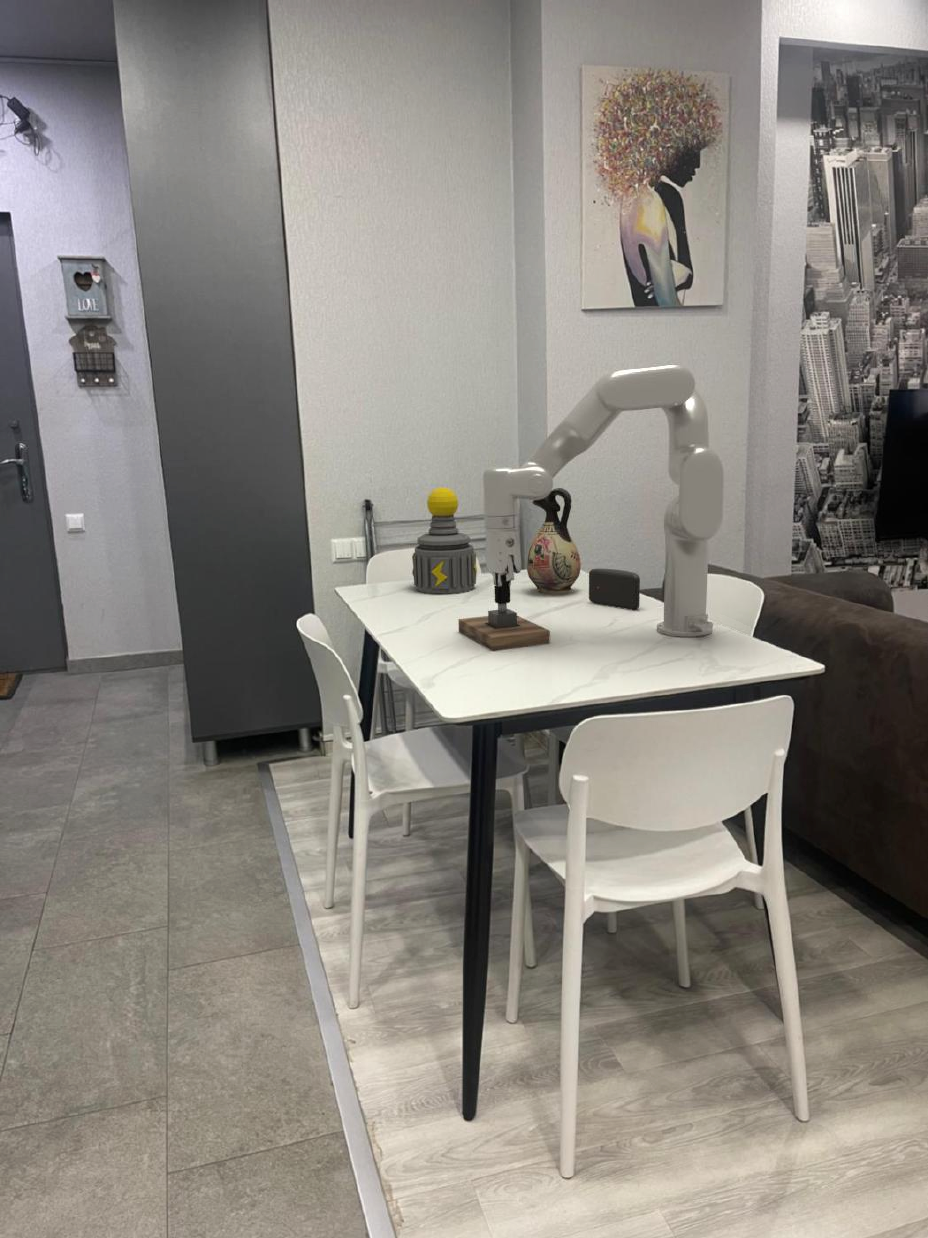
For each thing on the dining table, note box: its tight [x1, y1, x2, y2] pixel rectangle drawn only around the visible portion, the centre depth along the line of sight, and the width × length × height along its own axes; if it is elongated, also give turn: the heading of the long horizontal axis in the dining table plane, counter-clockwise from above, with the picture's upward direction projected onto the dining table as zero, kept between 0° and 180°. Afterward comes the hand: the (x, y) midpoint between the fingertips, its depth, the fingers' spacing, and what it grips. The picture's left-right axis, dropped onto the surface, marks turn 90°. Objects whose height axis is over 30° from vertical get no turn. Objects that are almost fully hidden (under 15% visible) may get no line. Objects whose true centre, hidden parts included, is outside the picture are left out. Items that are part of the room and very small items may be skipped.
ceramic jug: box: [526, 487, 584, 596], centre depth 252 cm, size 17×15×30 cm
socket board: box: [458, 615, 551, 652], centre depth 206 cm, size 20×14×3 cm
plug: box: [487, 603, 518, 629], centre depth 205 cm, size 5×5×7 cm
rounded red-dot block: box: [588, 568, 641, 611], centre depth 235 cm, size 16×5×9 cm, turn 43°
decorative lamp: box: [411, 486, 478, 595], centre depth 262 cm, size 19×19×30 cm
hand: (502, 602), depth 204 cm, fingers closed
